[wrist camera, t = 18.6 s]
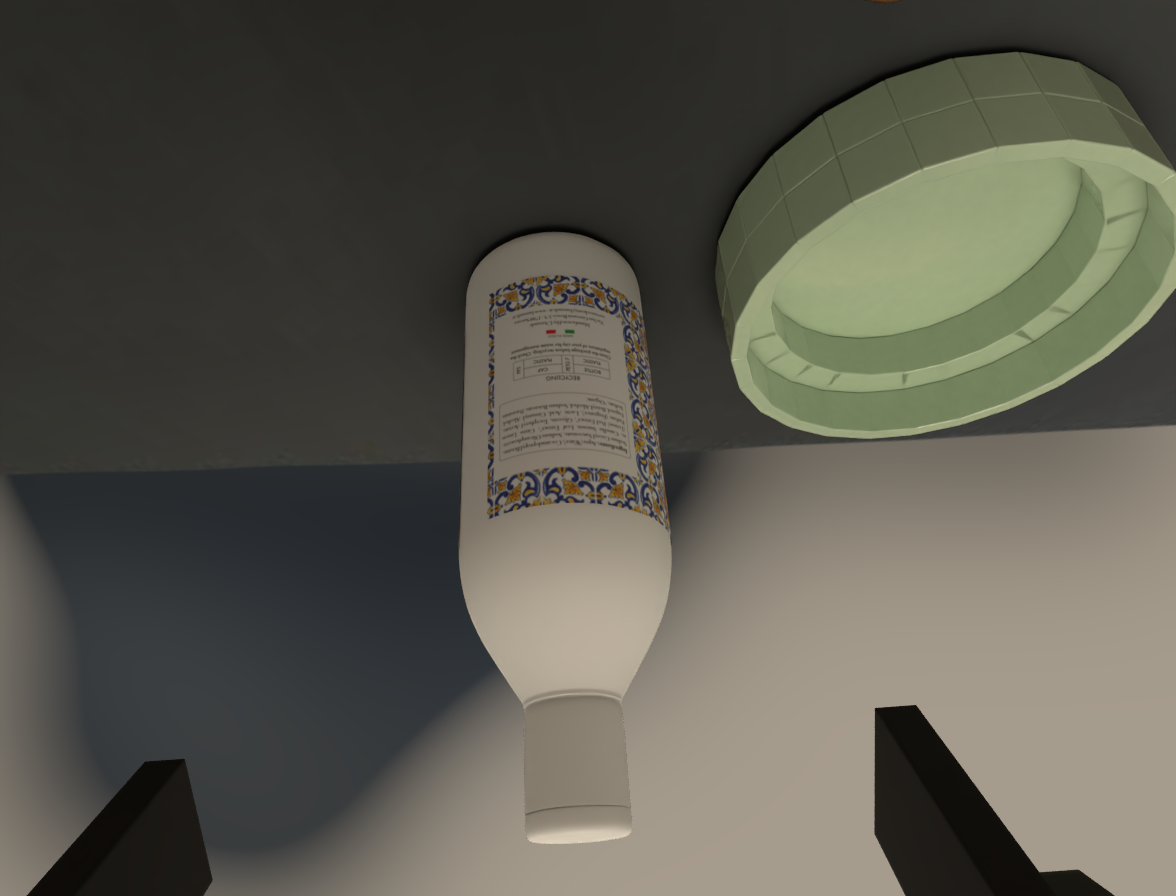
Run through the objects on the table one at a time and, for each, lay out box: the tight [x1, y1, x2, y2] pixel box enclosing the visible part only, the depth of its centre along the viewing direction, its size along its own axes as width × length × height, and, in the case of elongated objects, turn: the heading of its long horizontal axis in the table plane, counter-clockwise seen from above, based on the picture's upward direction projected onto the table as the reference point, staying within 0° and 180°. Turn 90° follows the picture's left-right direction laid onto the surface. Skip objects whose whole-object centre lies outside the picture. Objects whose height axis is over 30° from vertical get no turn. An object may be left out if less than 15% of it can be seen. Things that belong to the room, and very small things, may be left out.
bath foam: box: [458, 232, 672, 844], centre depth 26 cm, size 7×7×20 cm
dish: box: [715, 52, 1176, 439], centre depth 29 cm, size 15×15×4 cm
